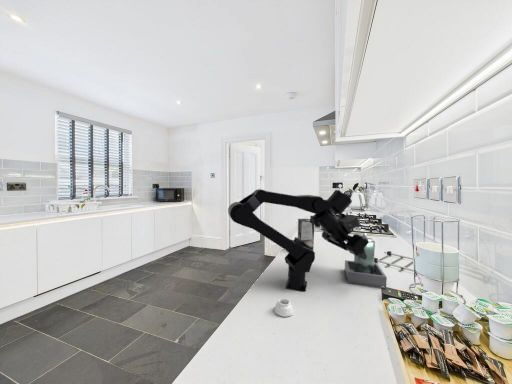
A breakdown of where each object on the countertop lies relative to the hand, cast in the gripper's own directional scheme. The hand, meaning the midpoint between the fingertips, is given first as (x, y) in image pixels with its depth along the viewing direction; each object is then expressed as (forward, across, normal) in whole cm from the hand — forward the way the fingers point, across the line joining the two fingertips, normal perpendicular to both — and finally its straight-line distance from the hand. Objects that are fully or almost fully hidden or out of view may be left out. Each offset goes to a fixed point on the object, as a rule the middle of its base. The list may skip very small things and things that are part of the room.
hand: (356, 253), depth 75 cm
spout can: (+8, 0, +3) cm, 9 cm away
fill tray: (+9, 0, +4) cm, 10 cm away
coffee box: (+4, +31, +10) cm, 33 cm away
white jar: (-15, -12, +30) cm, 36 cm away
